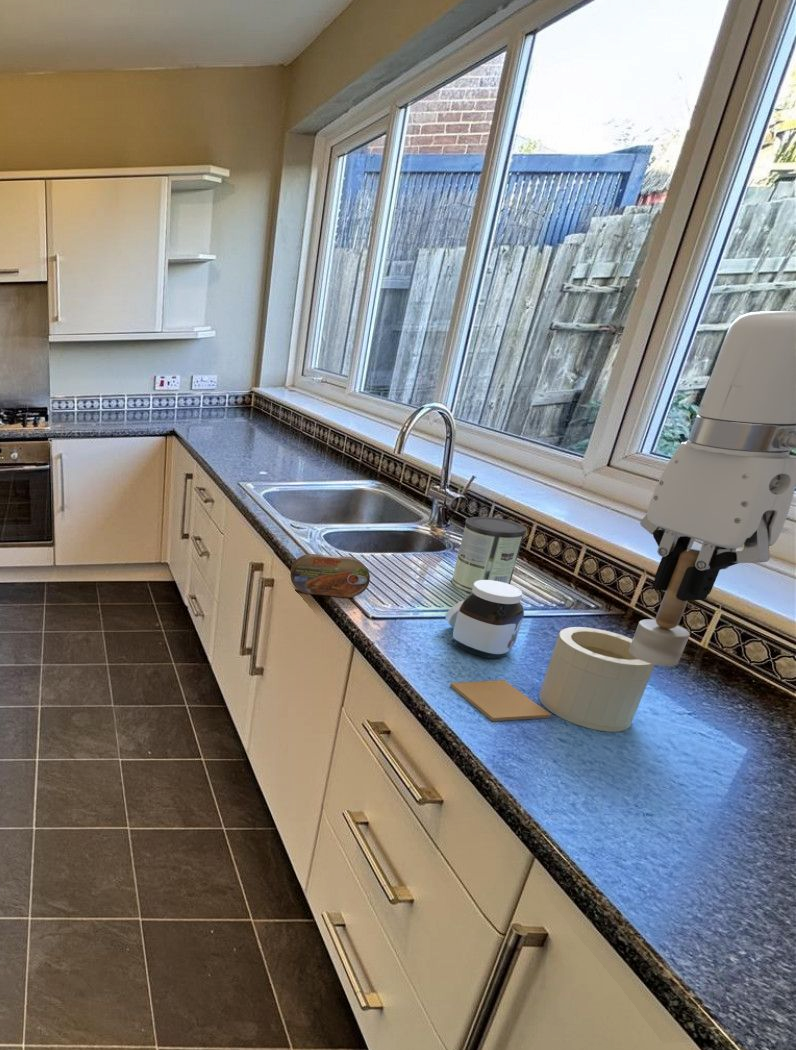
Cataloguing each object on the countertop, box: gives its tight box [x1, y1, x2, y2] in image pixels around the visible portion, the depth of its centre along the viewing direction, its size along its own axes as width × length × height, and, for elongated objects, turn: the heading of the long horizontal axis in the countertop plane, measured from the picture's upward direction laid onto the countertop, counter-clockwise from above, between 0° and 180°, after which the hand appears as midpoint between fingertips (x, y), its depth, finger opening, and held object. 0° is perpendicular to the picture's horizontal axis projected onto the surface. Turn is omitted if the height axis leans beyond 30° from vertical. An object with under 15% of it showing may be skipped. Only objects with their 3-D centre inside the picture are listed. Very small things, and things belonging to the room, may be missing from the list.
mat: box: [449, 679, 552, 722], centre depth 94 cm, size 9×9×1 cm
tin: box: [290, 553, 371, 599], centre depth 128 cm, size 15×3×8 cm, turn 73°
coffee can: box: [451, 516, 527, 594], centre depth 129 cm, size 10×10×14 cm
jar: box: [538, 626, 656, 733], centre depth 90 cm, size 11×11×11 cm
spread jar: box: [445, 580, 525, 659], centre depth 108 cm, size 12×11×12 cm
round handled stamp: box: [629, 548, 700, 668], centre depth 72 cm, size 4×4×14 cm
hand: (678, 593), depth 71 cm, fingers closed on round handled stamp, 2 cm apart
